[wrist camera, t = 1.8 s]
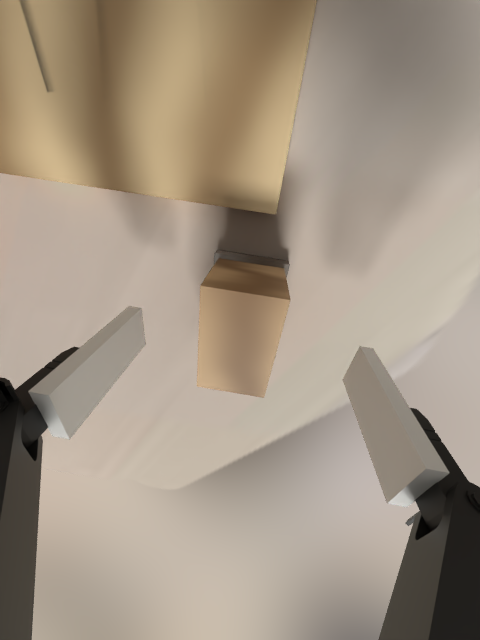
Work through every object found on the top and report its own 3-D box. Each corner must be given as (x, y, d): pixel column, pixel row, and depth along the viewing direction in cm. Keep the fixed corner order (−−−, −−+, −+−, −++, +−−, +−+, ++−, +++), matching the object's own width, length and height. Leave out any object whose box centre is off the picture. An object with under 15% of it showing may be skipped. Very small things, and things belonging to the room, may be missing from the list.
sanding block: (211, 337, 21) (192, 388, 15) (217, 249, 16) (194, 279, 11) (267, 347, 20) (267, 401, 15) (288, 260, 16) (298, 295, 11)
